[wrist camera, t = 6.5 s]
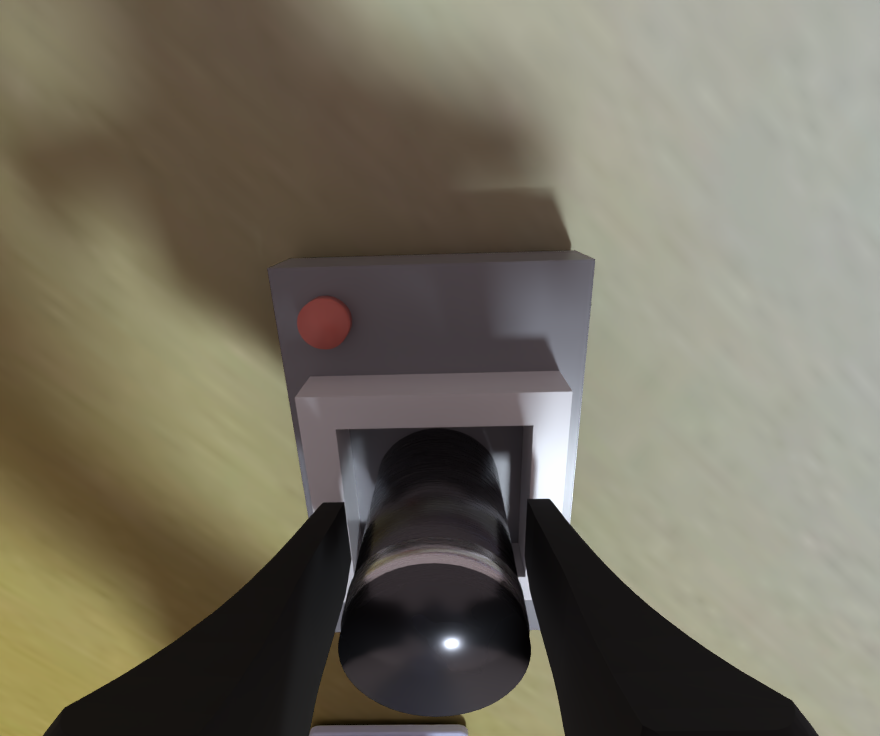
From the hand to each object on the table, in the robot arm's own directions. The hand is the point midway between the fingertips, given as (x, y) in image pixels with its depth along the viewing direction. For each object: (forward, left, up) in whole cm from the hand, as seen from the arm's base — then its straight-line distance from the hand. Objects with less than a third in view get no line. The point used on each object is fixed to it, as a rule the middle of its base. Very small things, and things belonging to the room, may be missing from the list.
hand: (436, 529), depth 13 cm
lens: (0, 0, -2) cm, 2 cm away
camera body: (0, 0, -4) cm, 4 cm away
